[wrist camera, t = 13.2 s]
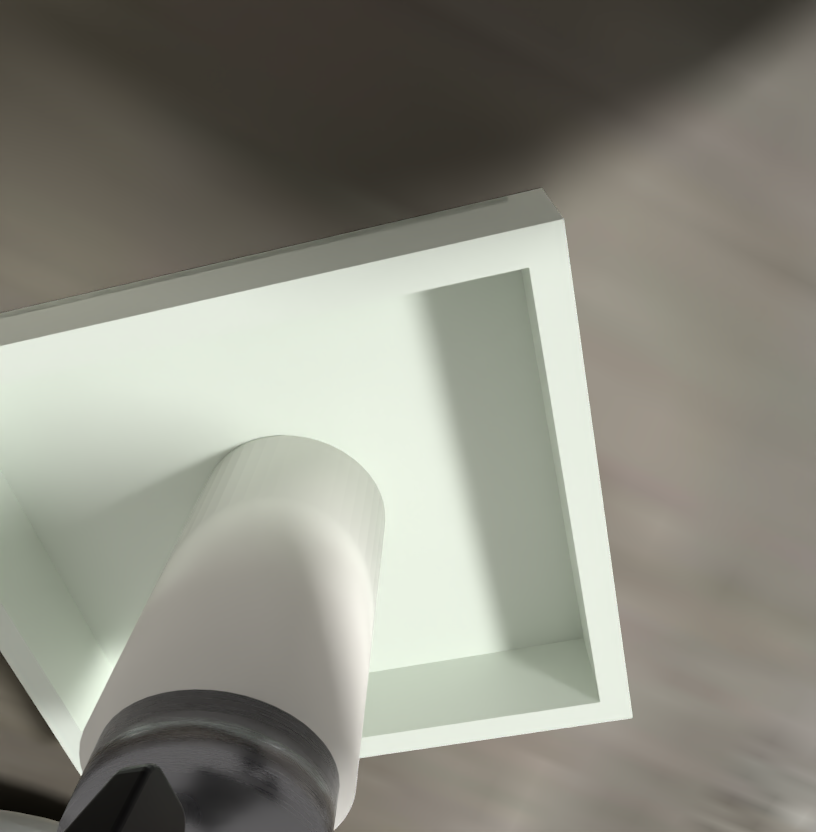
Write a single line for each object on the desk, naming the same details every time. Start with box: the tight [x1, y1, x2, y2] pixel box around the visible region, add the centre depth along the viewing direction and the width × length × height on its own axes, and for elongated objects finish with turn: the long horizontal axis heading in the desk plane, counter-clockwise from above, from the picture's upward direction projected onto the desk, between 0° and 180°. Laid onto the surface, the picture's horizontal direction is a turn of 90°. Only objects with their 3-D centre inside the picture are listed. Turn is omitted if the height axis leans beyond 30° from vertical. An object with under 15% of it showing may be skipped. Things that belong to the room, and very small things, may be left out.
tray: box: [0, 188, 633, 775], centre depth 20 cm, size 16×14×3 cm
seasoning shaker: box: [57, 436, 385, 832], centre depth 17 cm, size 5×5×10 cm
